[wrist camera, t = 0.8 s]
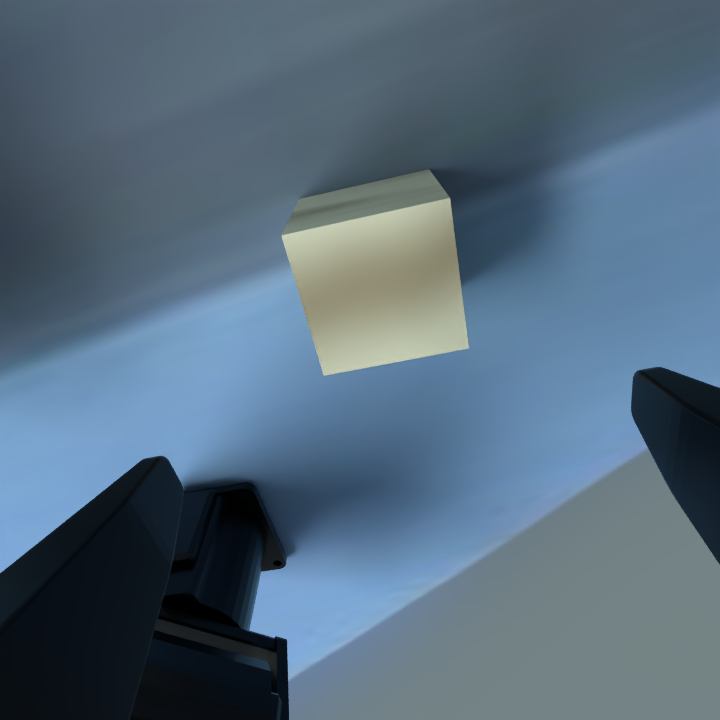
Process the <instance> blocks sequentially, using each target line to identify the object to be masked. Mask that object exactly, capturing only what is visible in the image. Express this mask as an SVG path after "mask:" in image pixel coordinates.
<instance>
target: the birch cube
mask: <svg viewBox="0 0 720 720" xmlns="http://www.w3.org/2000/svg"><path fill="white" fill-rule="evenodd" d="M281 236H282V239H283V242H284V246H285V249H286V252H287V255H288V259H289V262H290V265H291V269H292V272H293V275H294V279H295V282H296V285H297V288H298V292H299V295H300V298H301V302H302V305H303V308H304V312H305V315H306V318H307V322H308V325H309V328H310V331H311V335H312V338H313V341H314V345H315V348H316V351H317V355H318V358H319V361H320V364H321V368H322V371H323V374H324V376H326V375H331V374H336V373H341V372H347V371H352V370H357V369H363V368H368V367H373V366H379V365H384V364H389V363H394V362H400V361H405V360H410V359H416V358H421V357H426V356H432V355H437V354H442V353H447V352H453V351H458V350H463V349H469V345H468V337H467V329H466V321H465V313H464V305H463V297H462V289H461V281H460V273H459V265H458V257H457V249H456V241H455V233H454V225H453V217H452V209H451V201H450V197H449V196H448V194H447V193H446V192H445V190H444V189H443V188H442V186H441V185H440V183H439V182H438V181H437V179H436V178H435V177H434V175H433V174H432V172H431V171H430V170H429V169H427V170H423V171H419V172H414V173H410V174H406V175H401V176H397V177H393V178H388V179H384V180H380V181H375V182H371V183H367V184H362V185H358V186H354V187H349V188H345V189H340V190H336V191H332V192H327V193H323V194H319V195H314V196H310V197H306V198H301V199H299V200H298V202H297V204H296V207H295V209H294V211H293V213H292V215H291V217H290V219H289V221H288V223H287V225H286V227H285V229H284V231H283V233H282V235H281Z"/></svg>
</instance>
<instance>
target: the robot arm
mask: <svg viewBox="0 0 720 720" xmlns="http://www.w3.org/2000/svg"><path fill="white" fill-rule="evenodd" d="M631 412H632V416H633V419H634V421H635V423H636V425H637V427H638V429H639V431H640V433H641V435H642V437H643V439H644V441H645V443H646V445H647V447H648V449H649V451H650V452H651V454H652V456H653V458H654V460H655V462H656V464H657V466H658V468H659V470H660V472H661V474H662V476H663V478H664V480H665V481H666V483H667V485H668V487H669V489H670V491H671V492H672V494H673V495H674V497H675V499H676V500H677V502H678V503H679V505H680V506H681V508H682V509H683V511H684V512H685V514H686V515H687V517H688V518H689V520H690V521H691V523H692V524H693V526H694V527H695V529H696V530H697V532H698V533H699V534H700V536H701V537H702V539H703V540H704V542H705V543H706V545H707V546H708V548H709V549H710V551H711V552H712V554H713V555H714V557H715V558H716V560H717V561H718V563H719V564H720V388H718V387H715V386H713V385H710V384H707V383H704V382H702V381H699V380H696V379H693V378H690V377H688V376H685V375H682V374H679V373H676V372H674V371H671V370H668V369H665V368H662V367H654V368H649V369H643V370H638V371H637V372H636V373H635V374H634V376H633V386H632V401H631ZM245 492H248V493H245ZM286 560H287V557H286V554H285V552H284V550H283V547H282V545H281V543H280V541H279V538H278V536H277V534H276V532H275V529H274V527H273V525H272V523H271V520H270V518H269V516H268V513H267V511H266V509H265V507H264V504H263V502H262V500H261V498H260V495H259V493H258V491H257V489H256V487H255V486H254V485H252V484H250V483H241V484H235V485H229V486H223V487H217V488H211V489H205V490H199V491H193V492H187V493H184V491H183V487H182V484H181V482H180V480H179V478H178V476H177V475H176V473H175V471H174V469H173V467H172V465H171V464H170V462H169V460H168V459H167V458H166V457H164V456H157V457H151V458H146V459H143V460H141V461H140V462H139V463H138V464H136V465H135V466H134V467H133V468H131V469H130V470H129V471H128V472H126V473H125V474H124V475H123V476H121V477H120V478H119V479H118V480H116V481H115V482H114V483H113V484H111V485H110V486H109V487H108V488H106V489H105V490H104V491H103V492H101V493H100V494H99V495H98V496H96V497H95V498H94V499H93V500H91V501H90V502H89V503H88V504H86V505H85V506H84V507H83V508H81V509H80V510H79V511H78V512H76V513H75V514H74V515H73V516H71V517H70V518H69V519H68V520H66V521H65V522H64V523H63V524H61V525H60V526H59V527H58V528H56V529H55V530H54V531H53V532H51V533H50V534H49V535H48V536H46V537H45V538H44V539H43V540H41V541H40V542H39V543H38V544H36V545H35V546H34V547H33V548H31V549H30V550H29V551H28V552H26V553H25V554H24V555H23V556H21V557H20V558H19V559H18V560H16V561H15V562H14V563H13V564H11V565H10V566H9V567H8V568H6V569H5V570H4V571H3V572H1V573H0V720H289V699H288V662H287V640H286V639H283V638H280V637H277V636H276V637H275V638H272V637H269V636H266V635H262V634H259V633H255V632H252V631H249V629H250V624H251V619H252V614H253V609H254V604H255V599H256V593H257V588H258V583H259V578H260V573H261V571H268V570H275V569H281V568H283V567H285V565H286Z"/></svg>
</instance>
